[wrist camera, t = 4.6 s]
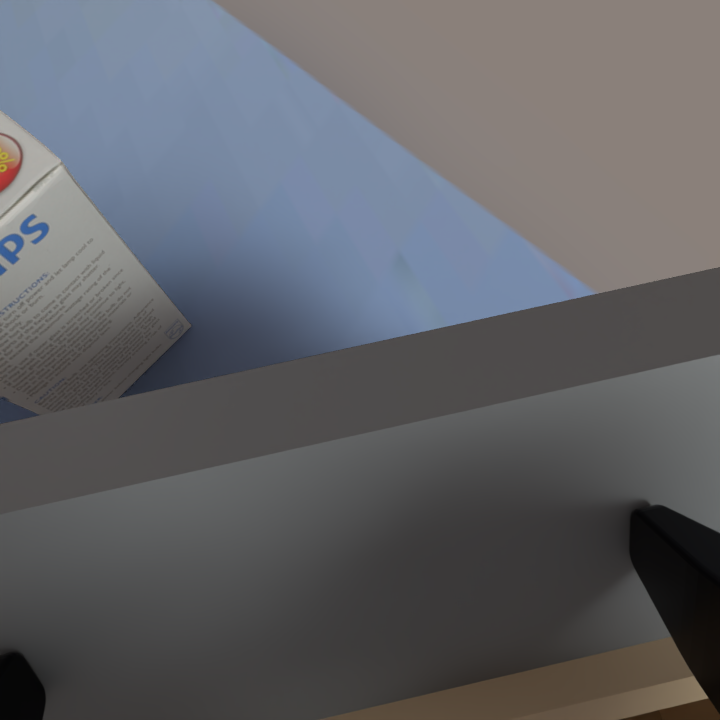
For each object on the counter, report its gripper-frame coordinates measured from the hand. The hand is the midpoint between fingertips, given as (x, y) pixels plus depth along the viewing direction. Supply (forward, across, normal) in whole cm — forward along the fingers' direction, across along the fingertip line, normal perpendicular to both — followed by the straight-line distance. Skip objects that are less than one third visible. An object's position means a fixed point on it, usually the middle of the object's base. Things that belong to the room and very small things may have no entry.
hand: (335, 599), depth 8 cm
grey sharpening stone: (+3, 0, +3) cm, 4 cm away
